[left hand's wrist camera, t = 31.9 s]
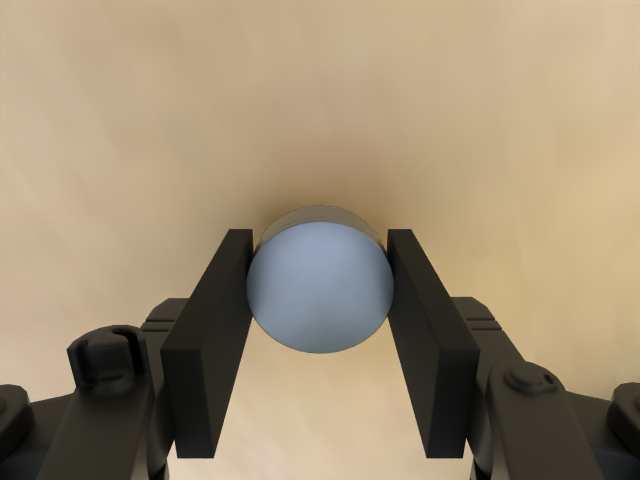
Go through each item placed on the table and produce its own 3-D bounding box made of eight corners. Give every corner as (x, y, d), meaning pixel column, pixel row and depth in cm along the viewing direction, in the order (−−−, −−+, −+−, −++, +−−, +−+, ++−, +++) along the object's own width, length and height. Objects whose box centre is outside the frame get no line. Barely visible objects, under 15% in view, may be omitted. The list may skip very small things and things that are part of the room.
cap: (382, 328, 15) (388, 355, 14) (254, 325, 15) (247, 352, 14) (393, 206, 14) (402, 222, 12) (250, 203, 13) (242, 219, 12)
